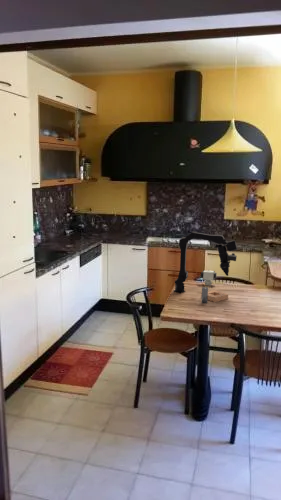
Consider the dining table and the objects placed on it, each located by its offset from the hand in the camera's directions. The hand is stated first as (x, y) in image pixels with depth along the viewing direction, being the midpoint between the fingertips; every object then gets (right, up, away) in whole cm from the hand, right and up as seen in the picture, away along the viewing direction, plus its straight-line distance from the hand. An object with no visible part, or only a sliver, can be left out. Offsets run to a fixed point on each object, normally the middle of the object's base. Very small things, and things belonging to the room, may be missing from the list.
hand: (227, 274), depth 282 cm
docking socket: (-10, -16, -3) cm, 19 cm away
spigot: (-18, -18, -13) cm, 29 cm away
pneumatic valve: (-9, -10, +29) cm, 32 cm away
